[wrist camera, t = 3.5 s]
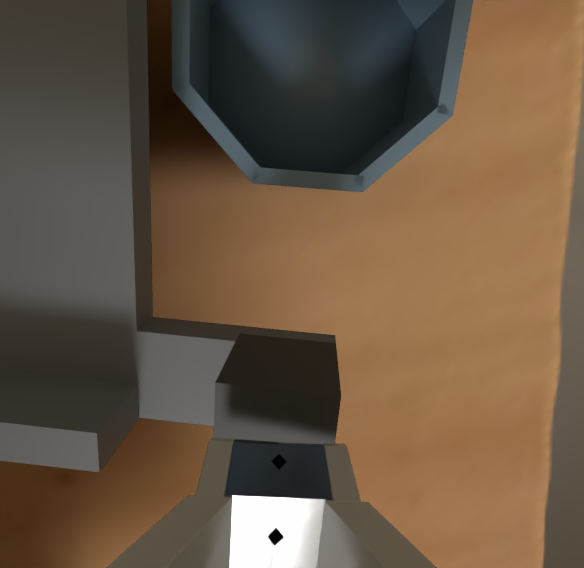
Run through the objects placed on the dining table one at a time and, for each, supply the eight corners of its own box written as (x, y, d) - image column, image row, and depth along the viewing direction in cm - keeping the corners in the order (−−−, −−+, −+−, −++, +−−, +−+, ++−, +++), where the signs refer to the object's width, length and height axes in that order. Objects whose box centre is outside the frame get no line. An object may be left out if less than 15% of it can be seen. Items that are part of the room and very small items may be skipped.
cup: (399, 191, 20) (437, 198, 15) (197, 175, 20) (172, 176, 15) (435, -46, 17) (495, -128, 13) (201, -74, 17) (170, -171, 12)
